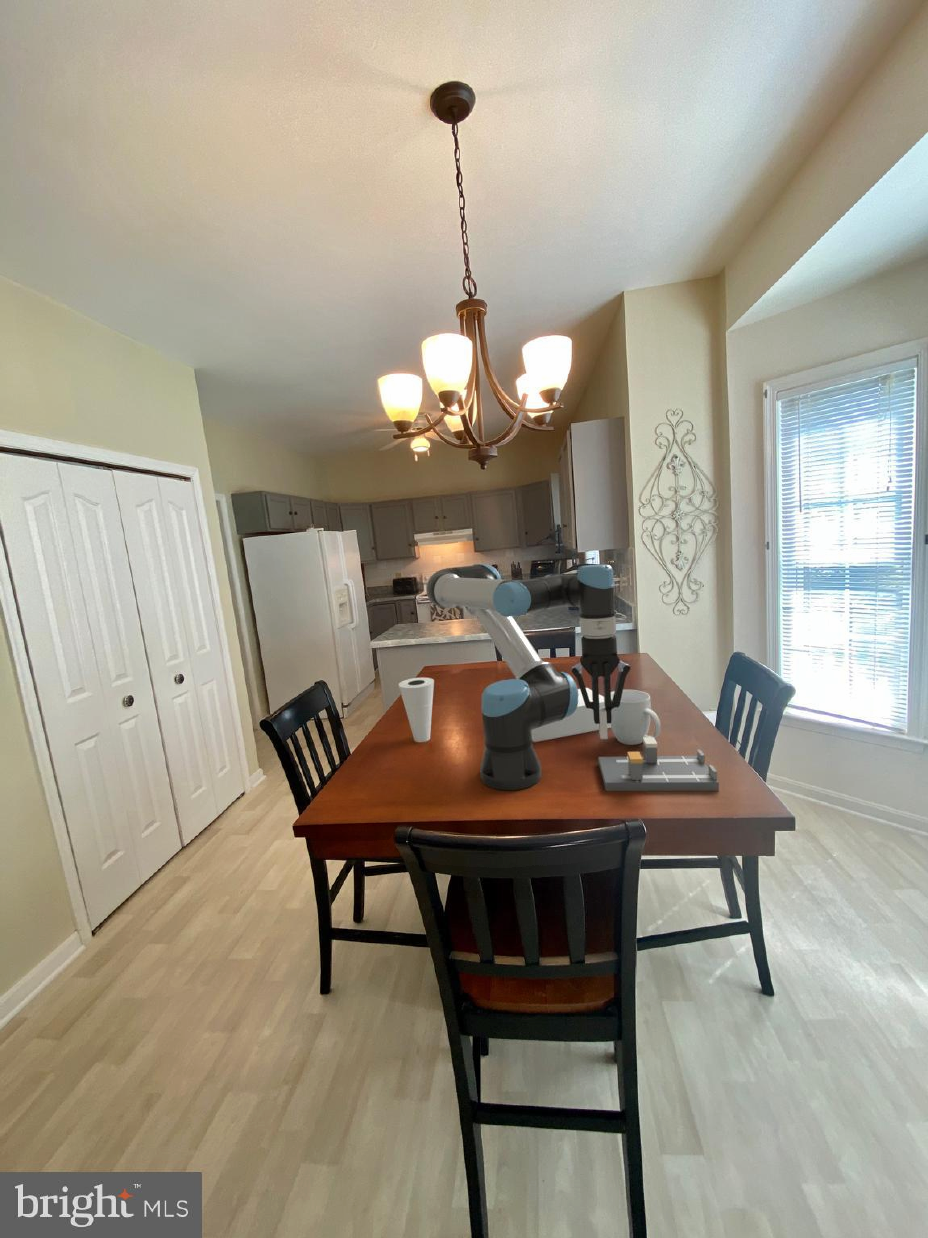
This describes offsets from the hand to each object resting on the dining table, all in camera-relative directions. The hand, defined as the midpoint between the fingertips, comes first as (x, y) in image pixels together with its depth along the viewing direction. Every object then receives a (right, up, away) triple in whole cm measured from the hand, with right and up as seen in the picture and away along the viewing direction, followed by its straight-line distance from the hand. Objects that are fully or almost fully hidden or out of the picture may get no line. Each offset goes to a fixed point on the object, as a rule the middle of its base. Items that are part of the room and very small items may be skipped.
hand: (603, 736), depth 109 cm
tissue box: (-1, -7, +39) cm, 39 cm away
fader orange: (+8, -9, +1) cm, 12 cm away
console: (+13, -10, +4) cm, 17 cm away
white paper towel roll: (-45, -10, +38) cm, 59 cm away
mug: (+15, -7, +24) cm, 29 cm away
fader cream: (+14, -8, +8) cm, 18 cm away
